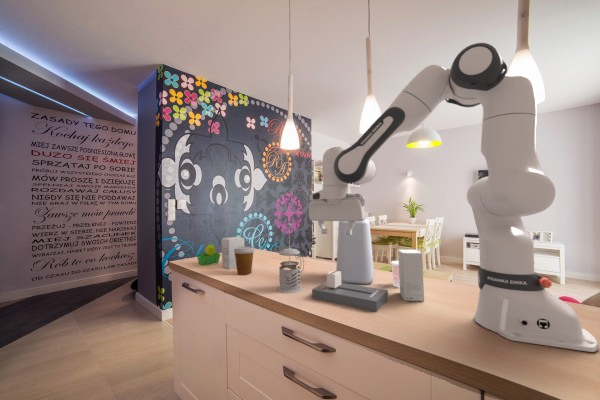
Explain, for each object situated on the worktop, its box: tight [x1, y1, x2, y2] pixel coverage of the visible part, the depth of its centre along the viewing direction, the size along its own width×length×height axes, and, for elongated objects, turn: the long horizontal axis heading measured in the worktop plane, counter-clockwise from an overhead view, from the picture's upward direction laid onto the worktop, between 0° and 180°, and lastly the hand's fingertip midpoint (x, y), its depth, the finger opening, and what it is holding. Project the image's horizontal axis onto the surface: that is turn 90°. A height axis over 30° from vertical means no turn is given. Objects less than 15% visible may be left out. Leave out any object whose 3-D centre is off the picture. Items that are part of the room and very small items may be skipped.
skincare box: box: [397, 249, 425, 302], centre depth 89 cm, size 8×7×16 cm
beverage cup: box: [390, 248, 401, 289], centre depth 102 cm, size 6×6×14 cm
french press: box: [276, 222, 305, 294], centre depth 101 cm, size 10×12×25 cm
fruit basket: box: [196, 243, 222, 266], centre depth 146 cm, size 11×9×11 cm
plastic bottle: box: [335, 218, 375, 285], centre depth 112 cm, size 15×15×28 cm
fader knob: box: [326, 270, 342, 288], centre depth 92 cm, size 3×5×5 cm, turn 147°
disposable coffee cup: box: [234, 245, 255, 276], centre depth 124 cm, size 10×10×12 cm
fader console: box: [311, 280, 389, 313], centre depth 89 cm, size 22×12×3 cm, turn 57°
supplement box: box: [221, 236, 246, 270], centre depth 138 cm, size 9×9×15 cm
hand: (336, 234), depth 92 cm, fingers open, 8 cm apart
